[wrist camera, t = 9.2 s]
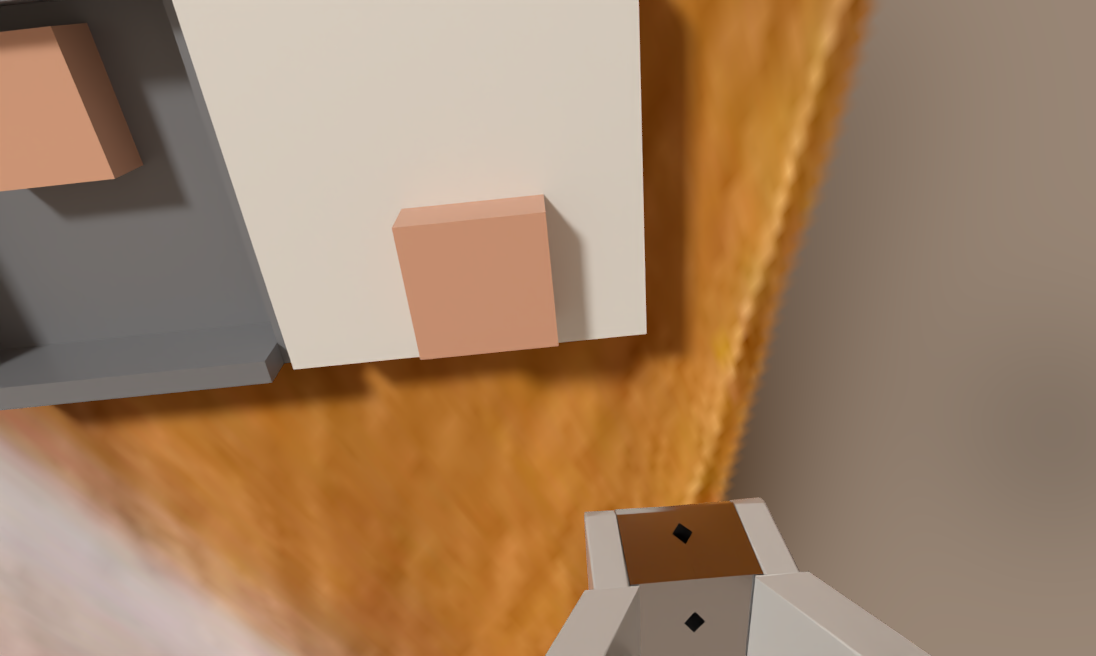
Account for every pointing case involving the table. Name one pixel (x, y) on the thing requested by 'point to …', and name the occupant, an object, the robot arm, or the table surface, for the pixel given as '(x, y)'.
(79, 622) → the table surface
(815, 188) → the table surface
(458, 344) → the tile
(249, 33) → the raised plate
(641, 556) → the robot arm
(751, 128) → the table surface
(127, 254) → the box
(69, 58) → the tile
